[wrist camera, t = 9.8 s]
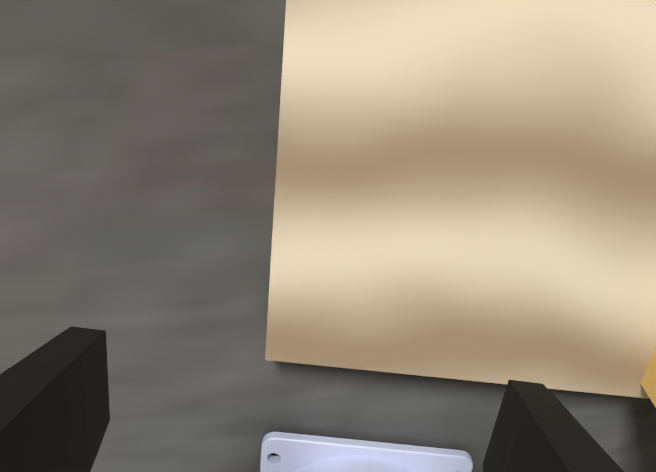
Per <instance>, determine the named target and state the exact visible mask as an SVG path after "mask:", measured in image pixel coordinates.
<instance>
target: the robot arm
mask: <svg viewBox="0 0 656 472" xmlns="http://www.w3.org/2000/svg"><path fill="white" fill-rule="evenodd" d="M109 420H110V414H109V392H108V370H107V349H106V331H104V330H96V329H88V328H79V327H70V328H68V329H67V330H65V331H64V332H62V333H61V334H59V335H57V336H56V337H55V338H53V339H52V340H50V341H49V342H47V343H46V344H44V345H43V346H41V347H40V348H38V349H37V350H35V351H34V352H33V353H31V354H30V355H28V356H27V357H25V358H24V359H22V360H21V361H19V362H18V363H16V364H15V365H13V366H12V367H10V368H9V369H7V370H6V371H4V372H3V373H1V374H0V472H90V470H91V468H92V465H93V463H94V460H95V458H96V455H97V453H98V450H99V448H100V445H101V442H102V439H103V437H104V434H105V431H106V429H107V426H108V423H109ZM271 453H276V454H278V456H274V455H271ZM472 469H473V462H472V458H471V456H470V454H469V453H467V452H466V451H462V450H453V449H443V448H433V447H423V446H413V445H403V444H393V443H383V442H373V441H363V440H353V439H343V438H333V437H323V436H314V435H304V434H294V433H284V432H270V433H268V434H266V435H265V436H264V438H263V441H262V447H261V463H260V472H472ZM483 470H484V472H624V471H623V470H622V469H621V468H620V467H619V466H618V465H617V464H616V463H615V462H614V461H613V459H612V458H611V457H610V456H609V455H608V454H607V453H606V452H605V451H604V450H603V449H602V448H601V447H600V446H599V444H598V443H597V442H596V441H595V440H594V439H593V438H592V437H591V436H590V435H589V433H588V432H587V431H586V430H585V429H584V428H583V427H582V426H581V425H580V424H579V422H578V421H577V420H576V419H575V418H574V417H573V416H572V415H571V414H570V412H569V411H568V410H567V409H566V408H565V407H564V406H563V405H562V404H561V403H560V401H559V400H558V399H557V398H556V397H555V396H554V395H553V394H552V393H551V392H550V391H549V390H548V389H547V388H546V387H545V385H544V384H541V383H533V382H525V381H517V380H508V384H507V387H506V390H505V393H504V397H503V400H502V403H501V407H500V410H499V413H498V416H497V420H496V423H495V426H494V429H493V433H492V436H491V439H490V442H489V446H488V449H487V452H486V455H485V459H484V462H483Z"/></svg>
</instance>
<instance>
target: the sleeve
mask: <svg viewBox="0 0 656 472" xmlns="http://www.w3.org/2000/svg"><path fill="white" fill-rule="evenodd" d="M641 385H642V387H643V388H644V390H645V392H646V393H647V395H648V396H649V398H650V400H651V401H652V403H653V404H654V406H655V407H656V346H655V348H654V351H653V353H652V356H651V359H650V361H649V364H648V366H647V369H646V372H645V374H644V377H643V379H642V382H641Z"/></svg>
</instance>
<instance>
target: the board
mask: <svg viewBox="0 0 656 472" xmlns="http://www.w3.org/2000/svg"><path fill="white" fill-rule="evenodd" d="M655 346H656V0H286V15H285V32H284V49H283V65H282V82H281V99H280V116H279V133H278V150H277V166H276V183H275V200H274V217H273V234H272V251H271V268H270V284H269V301H268V318H267V335H266V352H265V360H270V361H280V362H290V363H300V364H310V365H320V366H330V367H340V368H350V369H359V370H369V371H379V372H389V373H399V374H409V375H419V376H429V377H439V378H449V379H459V380H469V381H479V382H489V383H499V384H508V380H517V381H525V382H533V383H541V384H544V385H545V387H546V388H548V389H558V390H568V391H578V392H588V393H598V394H608V395H618V396H628V397H638V398H648V399H650V398H649V396H648V395H647V393H646V392H645V390H644V388H643V387H642V385H641V382H642V379H643V377H644V374H645V372H646V369H647V366H648V364H649V361H650V359H651V356H652V353H653V351H654V348H655Z"/></svg>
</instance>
